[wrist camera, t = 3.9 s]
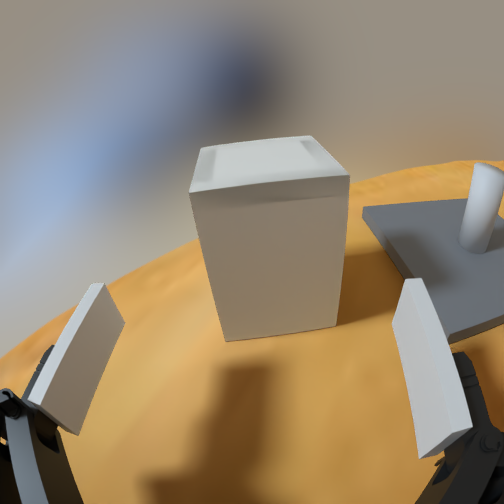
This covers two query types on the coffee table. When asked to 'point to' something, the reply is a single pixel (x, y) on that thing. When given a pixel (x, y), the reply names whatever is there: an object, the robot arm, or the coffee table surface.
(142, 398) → the coffee table surface
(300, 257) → the white rectangular box
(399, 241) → the post dock
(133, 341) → the coffee table surface
